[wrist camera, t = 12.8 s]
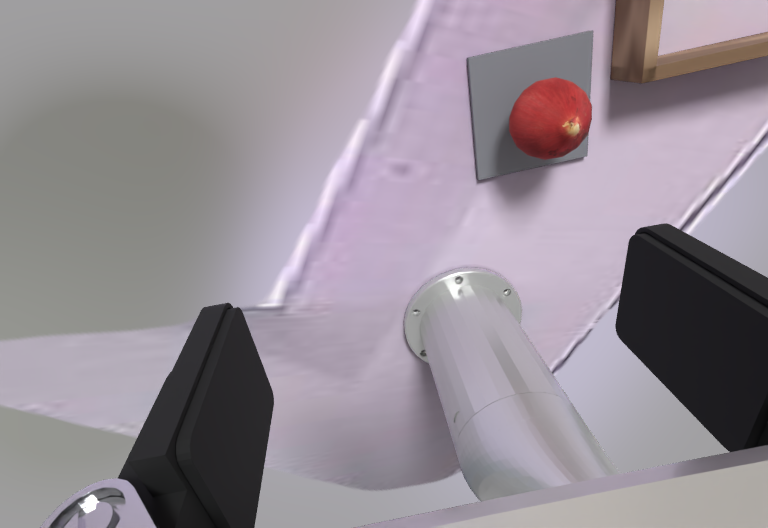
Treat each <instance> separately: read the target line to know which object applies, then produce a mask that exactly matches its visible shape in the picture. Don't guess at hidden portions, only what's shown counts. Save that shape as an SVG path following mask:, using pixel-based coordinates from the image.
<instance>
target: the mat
mask: <svg viewBox="0 0 768 528" xmlns="http://www.w3.org/2000/svg"><path fill="white" fill-rule="evenodd" d="M592 48H593V31H586V32H582V33H577V34H573V35H568V36H564V37H559V38H555V39H550V40H546V41H541V42H537V43H532V44H528V45H523V46H519V47H514V48H509V49H505V50H500V51H496V52H491V53H487V54H482V55H478V56H473V57H469V58H467V66H468V78H469V90H470V102H471V114H472V125H473V137H474V149H475V161H476V173H477V179H478V180H482V179H487V178H491V177H496V176H500V175H505V174H509V173H514V172H518V171H523V170H527V169H532V168H536V167H541V166H545V165H550V164H554V163H559V162H563V161H568V160H572V159H577V158H581V157H586V156H587V153H588V135H587V137H586V138H585V139H584V140H583V141H582V143H581V144H580V145H579V146H578V147H577V148H576V149H575V150H573V151H571V152H570V153H568V154H566V155H565V156H563V157H559V158H553V159H547V160H544V159H540V158H536V157H532V156H529V155H527V154H526V153H524V152H523V151H522V150H520V149H519V148H518V147H517V146H516V144H515V143H514V141H513V138H512V136H511V134H510V132H509V117H510V114H511V111H512V108H513V106H514V103H515V102H516V100H517V99H518V98H519V96H520V95H521V93H522V92H523V91H524V90H525V89H526V88H528V87H529V86H530V85H532V84H533V83H535V82H536V81H540V80H545V79H550V78H555V77H556V78H560V79H564V80H568V81H571V82H574V83H575V84H576V85H577V86H579V87H580V88H581V89H582V90H584V91H585V92H586V94H587V96H588V98H589V101H590V90H591V69H592Z"/></svg>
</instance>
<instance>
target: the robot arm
mask: <svg viewBox="0 0 768 528" xmlns="http://www.w3.org/2000/svg"><path fill="white" fill-rule="evenodd" d="M456 277H457V278H456ZM521 318H522V307H521V301H520V299H519V296H518V294H517V292H516V291H515V289H514V288H513V286H512V285H511V284H510V283H509V282H508V281H507V280H506V279H505V278H504V277H502V276H501V275H499V274H497V273H495V272H493V271H490V270H487V269H482V268H460V269H454V270H451V271H448V272H445V273H442V274H440V275H438V276H436V277H435V278H433V279H431V280H430V281H428V282H427V283H426V284H425V285H423V286H422V287H421V288H420V289H419V290H418V291H417V293H416V294H415V295H414V296H413V298H412V300H411V301H410V303H409V305H408V307H407V310H406V313H405V319H404V329H405V335H406V338H407V342H408V344H409V346H410V348H411V349H412V351H413V352H414V353H415V354H416V355H417V356H418V357H419V358H420V359H422V360H423V361H425V362H427V363H429V364H430V367H431V371H432V374H433V377H434V381H435V384H436V387H437V391H438V394H439V397H440V401H441V404H442V407H443V411H444V414H445V417H446V421H447V424H448V427H449V431H450V434H451V437H452V441H453V444H454V447H455V451H456V454H457V458H458V461H459V464H460V467H461V470H462V473H463V475H464V478H465V480H466V482H467V483H468V485H469V487H470V489H471V490H472V491H473V492H474V494H475V495H476V497H477V498H478V499H479V500H480V501H481V502H476V503H472V504H467V505H462V506H457V507H452V508H447V509H442V510H437V511H432V512H428V513H423V514H418V515H414V516H408V517H403V518H398V519H393V520H389V521H384V522H379V523H374V524H370V525H364V526H360V527H355V528H768V278H767V277H765V276H763V275H762V274H760V273H758V272H756V271H754V270H752V269H751V268H749V267H747V266H745V265H743V264H741V263H740V262H738V261H736V260H734V259H732V258H730V257H728V256H726V255H725V254H723V253H721V252H719V251H717V250H716V249H714V248H712V247H710V246H708V245H707V244H705V243H703V242H701V241H699V240H697V239H696V238H694V237H692V236H690V235H688V234H686V233H685V232H683V231H681V230H679V229H677V228H675V227H673V226H672V225H669V224H659V225H654V226H648V227H643V228H640V229H638V230H637V232H636V233H635V235H633V236H632V237H631V238H630V240H629V245H628V251H627V257H626V263H625V269H624V276H623V282H622V288H621V294H620V300H619V307H618V313H617V319H616V332H617V335H618V336H619V338H620V339H621V340H622V342H623V343H624V344H625V345H627V347H628V348H629V349H630V350H631V351H632V352H633V353H634V354H635V355H636V356H637V357H638V358H639V359H640V360H641V361H642V362H643V363H644V364H645V365H646V367H648V368H649V370H650V371H651V372H652V373H653V374H654V375H655V376H656V377H657V378H658V379H659V380H660V381H661V382H662V383H663V384H664V385H665V386H666V387H667V388H668V389H669V390H670V391H671V392H672V394H673V395H675V397H676V398H677V399H678V400H679V401H680V402H681V403H682V404H683V405H684V406H685V407H686V408H687V409H688V410H689V411H690V412H691V413H692V414H693V415H694V416H695V417H696V418H697V419H698V420H699V422H701V424H702V425H703V426H704V427H705V428H706V429H707V430H708V431H709V432H710V433H711V434H712V435H713V436H714V437H715V438H716V439H717V440H718V441H719V442H720V443H721V444H722V445H723V446H724V447H725V448H726V449H727V450H728V451H730V452H729V453H724V454H720V455H714V456H709V457H703V458H698V459H693V460H688V461H683V462H678V463H672V464H667V465H662V466H657V467H652V468H647V469H642V470H637V471H632V472H627V473H622V474H621V473H620V472H619V470H618V469H617V467H616V466H615V465H614V464H613V462H612V461H611V460H610V458H609V457H608V456H607V454H606V453H605V451H604V450H603V449H602V447H601V446H600V444H599V443H598V441H597V440H596V439H595V437H594V436H593V434H592V433H591V432H590V430H589V428H588V427H587V425H586V424H585V423H584V421H583V419H582V418H581V416H580V415H579V413H578V412H577V410H576V409H575V407H574V406H573V404H572V403H571V401H570V400H569V398H568V397H567V395H566V394H565V392H564V391H563V389H562V388H561V386H560V385H559V383H558V382H557V380H556V379H555V377H554V376H553V374H552V373H551V371H550V370H549V368H548V367H547V365H546V364H545V362H544V360H543V359H542V357H541V356H540V354H539V353H538V351H537V350H536V348H535V347H534V345H533V344H532V342H531V341H530V339H529V338H528V336H527V335H526V333H525V332H524V330H523V329H522V327H521V326H520V322H521ZM273 406H274V398H273V392H272V388H271V386H270V383H269V381H268V378H267V375H266V373H265V370H264V367H263V365H262V362H261V360H260V357H259V354H258V352H257V349H256V347H255V344H254V341H253V339H252V336H251V333H250V331H249V328H248V326H247V323H246V320H245V318H244V315H243V313H242V310H241V309H240V308H239V307H237V308H233V306H232V305H231V304H230V303H225V304H219V305H214V306H209V307H204V308H203V309H202V310H201V312H200V314H199V316H198V318H197V320H196V322H195V324H194V326H193V328H192V331H191V333H190V335H189V337H188V339H187V341H186V343H185V345H184V347H183V349H182V351H181V353H180V355H179V358H178V360H177V362H176V364H175V366H174V368H173V370H172V372H170V374H169V375H168V377H167V378H166V380H165V382H164V384H163V387H162V389H161V391H160V393H159V395H158V397H157V399H156V401H155V403H154V405H153V407H152V409H151V411H150V413H149V415H148V417H147V419H146V421H145V423H144V425H143V428H142V430H141V432H140V434H139V436H138V438H137V440H136V442H135V444H134V446H133V448H132V450H131V452H130V454H129V456H128V458H127V460H126V463H125V465H124V467H123V469H122V471H121V473H120V475H119V477H118V478H115V479H106V480H102V481H99V482H96V483H94V484H91V485H89V486H87V487H85V488H83V489H82V490H80V491H78V492H77V493H75V494H73V495H72V496H71V497H69V498H68V499H67V500H66V501H64V502H63V503H62V504H61V505H59V506H58V507H57V508H56V509H55V510H54V511H53V513H52V514H51V515H50V516H49V517H48V518H47V519H46V520H45V521H44V523H43V524H42V526H41V527H40V528H254V525H255V519H256V513H257V507H258V501H259V494H260V488H261V482H262V475H263V469H264V463H265V456H266V450H267V444H268V437H269V431H270V425H271V419H272V412H273Z"/></svg>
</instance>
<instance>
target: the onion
mask: <svg viewBox="0 0 768 528" xmlns="http://www.w3.org/2000/svg"><path fill="white" fill-rule="evenodd" d="M591 120H592V106H591V103H590V101H589V98H588V96H587V94H586V92H585V91H584V90H582V89H581V88H580V87H579V86H577V85H576V84H575V83H574V82H571V81H568V80H564V79H560V78H556V77H555V78H550V79H545V80H540V81H536V82H535V83H533V84H532V85H530V86H529V87H528V88H526V89H525V90H524V91H523V92H522V93H521V95H520V96H519V98H518V99H517V100H516V102H515V103H514V106H513V108H512V111H511V114H510V117H509V132H510V134H511V136H512V138H513V141H514V143H515V144H516V146H517V147H518V148H519V149H520V150H522V151H523V152H524V153H526V154H527V155H529V156H532V157H536V158H540V159H544V160H547V159H553V158H559V157H563V156H565V155H566V154H568V153H570V152H571V151H573V150H575V149H576V148H577V147H578V146H579V145H580V144H581V143H582V141H583V140H584V139H585V138H586V137H587V135H588V132H589V128H590V123H591Z"/></svg>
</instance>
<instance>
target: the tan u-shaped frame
mask: <svg viewBox="0 0 768 528" xmlns="http://www.w3.org/2000/svg"><path fill="white" fill-rule="evenodd" d="M663 6H664V0H616V10H615V24H614V39H613V53H612V68H611V79H612V80H619V81H627V82H635V83H646V82H651V81H655V80H660V79H664V78H669V77H673V76H678V75H682V74H687V73H691V72H696V71H700V70H705V69H709V68H714V67H718V66H723V65H727V64H732V63H736V62H741V61H745V60H750V59H754V58H759V57H764V56H768V32H765V33H760V34H756V35H751V36H747V37H742V38H738V39H733V40H729V41H724V42H720V43H715V44H711V45H706V46H702V47H697V48H693V49H688V50H684V51H679V52H675V53H670V54H665V55H661V56H658V49H659V40H660V32H661V23H662V14H663Z"/></svg>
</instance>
